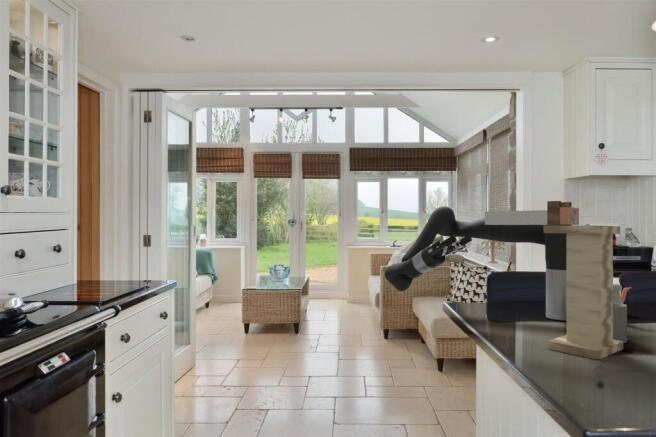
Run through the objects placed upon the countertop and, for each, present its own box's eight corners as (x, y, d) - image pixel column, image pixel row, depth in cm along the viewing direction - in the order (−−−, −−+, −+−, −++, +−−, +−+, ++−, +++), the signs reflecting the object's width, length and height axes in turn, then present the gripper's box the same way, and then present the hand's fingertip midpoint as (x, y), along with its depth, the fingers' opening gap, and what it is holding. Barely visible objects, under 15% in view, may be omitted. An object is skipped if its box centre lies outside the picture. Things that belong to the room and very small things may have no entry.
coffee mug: (632, 344, 118) (632, 307, 118) (591, 341, 121) (591, 305, 121) (615, 333, 131) (615, 300, 131) (578, 330, 134) (578, 298, 134)
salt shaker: (628, 324, 143) (627, 285, 143) (608, 323, 144) (608, 284, 144) (619, 321, 149) (619, 283, 149) (601, 320, 150) (601, 282, 150)
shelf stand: (566, 338, 124) (566, 203, 125) (623, 349, 113) (622, 201, 114) (539, 346, 114) (540, 200, 115) (598, 359, 103) (598, 198, 104)
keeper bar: (494, 224, 138) (494, 210, 138) (579, 224, 118) (579, 208, 118) (481, 224, 134) (481, 209, 134) (567, 224, 114) (567, 207, 114)
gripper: (411, 250, 151) (445, 227, 140) (436, 248, 160) (470, 227, 149) (419, 269, 148) (454, 248, 137) (445, 267, 157) (480, 247, 146)
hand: (463, 237), depth 143 cm, fingers open, 8 cm apart
